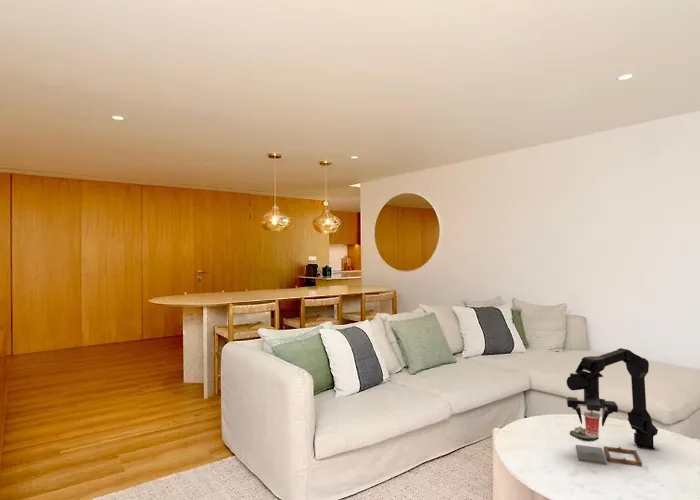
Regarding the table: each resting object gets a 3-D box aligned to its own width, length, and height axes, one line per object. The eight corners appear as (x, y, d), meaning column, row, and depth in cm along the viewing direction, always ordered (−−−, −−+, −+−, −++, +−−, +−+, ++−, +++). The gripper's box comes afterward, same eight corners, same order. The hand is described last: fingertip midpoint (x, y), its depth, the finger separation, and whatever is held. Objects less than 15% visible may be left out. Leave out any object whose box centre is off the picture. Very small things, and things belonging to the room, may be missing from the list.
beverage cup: (603, 438, 186) (602, 404, 186) (588, 438, 186) (587, 404, 186) (595, 432, 192) (595, 399, 192) (581, 432, 192) (580, 399, 192)
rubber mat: (601, 450, 194) (601, 447, 194) (606, 464, 181) (606, 462, 181) (575, 446, 198) (575, 444, 198) (578, 460, 185) (578, 458, 185)
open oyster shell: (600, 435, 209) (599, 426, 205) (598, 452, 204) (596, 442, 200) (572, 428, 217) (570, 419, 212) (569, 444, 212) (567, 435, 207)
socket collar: (635, 453, 190) (635, 448, 190) (642, 466, 179) (641, 461, 179) (603, 449, 194) (603, 444, 194) (607, 461, 183) (607, 456, 183)
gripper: (568, 391, 185) (568, 428, 185) (620, 396, 178) (620, 435, 178) (566, 383, 195) (567, 419, 195) (615, 387, 188) (616, 424, 188)
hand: (591, 424), depth 189 cm, fingers closed on beverage cup, 8 cm apart
